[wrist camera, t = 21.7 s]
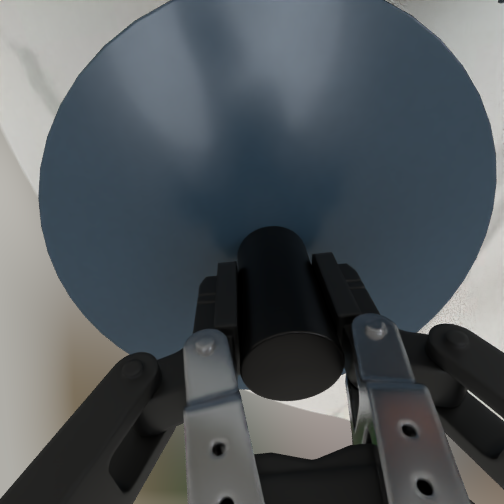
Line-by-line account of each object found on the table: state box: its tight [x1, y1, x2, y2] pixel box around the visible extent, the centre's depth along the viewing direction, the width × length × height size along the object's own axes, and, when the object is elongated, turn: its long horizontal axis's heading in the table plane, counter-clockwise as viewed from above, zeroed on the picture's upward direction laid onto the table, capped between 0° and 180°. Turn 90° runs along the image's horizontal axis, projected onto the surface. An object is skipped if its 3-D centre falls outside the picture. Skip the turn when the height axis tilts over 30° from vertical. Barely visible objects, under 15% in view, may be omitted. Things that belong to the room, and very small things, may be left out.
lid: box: [39, 0, 496, 401], centre depth 12 cm, size 19×19×7 cm
